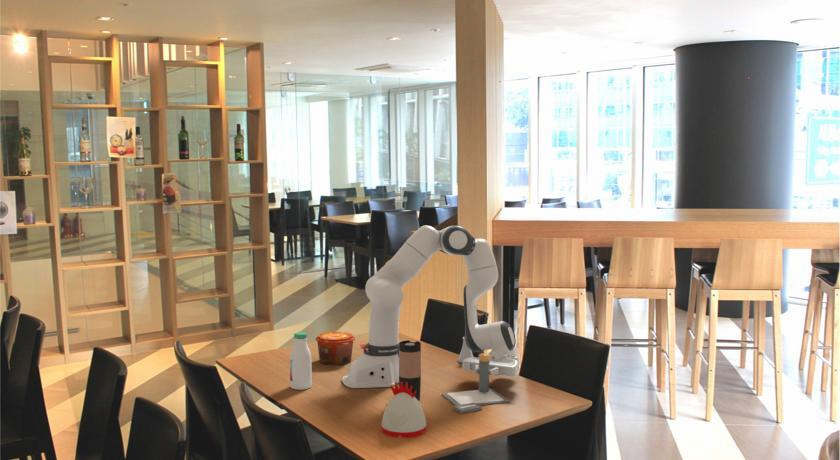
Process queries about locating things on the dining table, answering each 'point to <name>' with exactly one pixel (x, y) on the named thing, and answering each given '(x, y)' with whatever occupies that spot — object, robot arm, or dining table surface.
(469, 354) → the flask
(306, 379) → the milk bottle
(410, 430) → the kitchen timer
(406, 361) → the travel mug
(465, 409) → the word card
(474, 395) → the paper pad
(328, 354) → the food container
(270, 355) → the dining table surface
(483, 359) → the marker
